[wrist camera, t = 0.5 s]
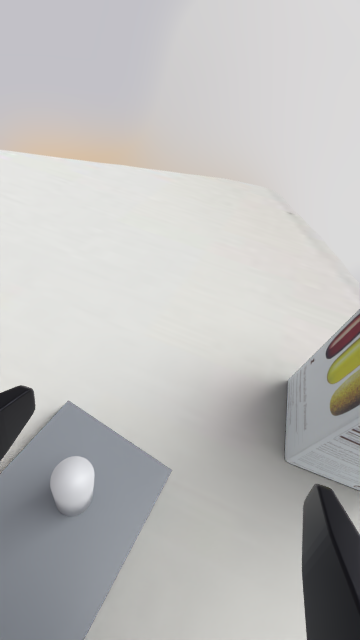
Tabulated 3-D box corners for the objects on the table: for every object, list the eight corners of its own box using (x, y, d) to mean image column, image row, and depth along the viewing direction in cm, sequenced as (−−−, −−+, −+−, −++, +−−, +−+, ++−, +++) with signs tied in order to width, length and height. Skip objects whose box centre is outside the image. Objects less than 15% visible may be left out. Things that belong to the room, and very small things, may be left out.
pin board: (-106, 996, 11) (-236, 1277, 6) (-276, 788, 12) (-472, 897, 8) (168, 475, 24) (186, 450, 20) (68, 408, 26) (65, 371, 21)
